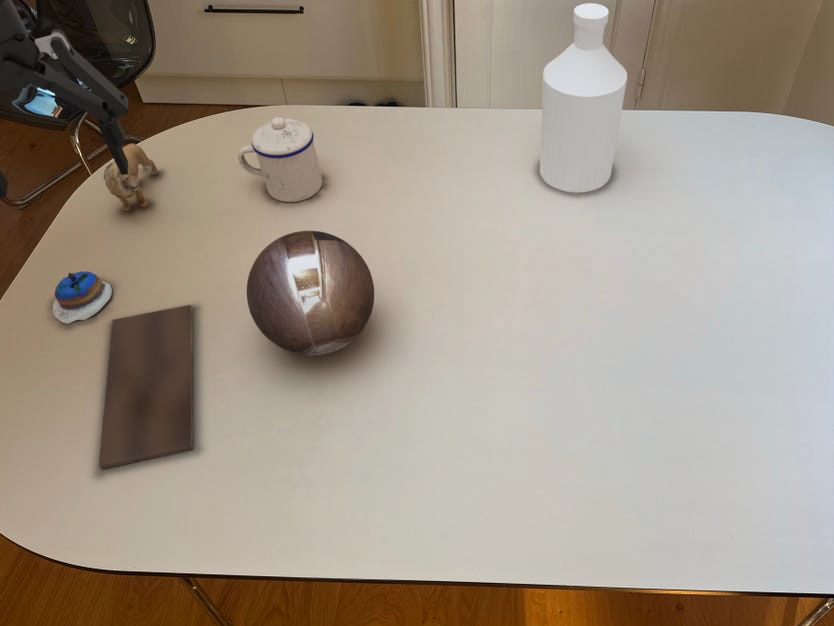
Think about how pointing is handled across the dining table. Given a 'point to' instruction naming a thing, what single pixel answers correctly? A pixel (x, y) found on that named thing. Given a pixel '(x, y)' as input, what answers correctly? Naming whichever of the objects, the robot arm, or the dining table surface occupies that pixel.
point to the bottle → (581, 107)
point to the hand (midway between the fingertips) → (65, 179)
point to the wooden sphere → (310, 292)
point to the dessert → (80, 296)
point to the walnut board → (149, 387)
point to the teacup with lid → (285, 159)
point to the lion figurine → (128, 176)
